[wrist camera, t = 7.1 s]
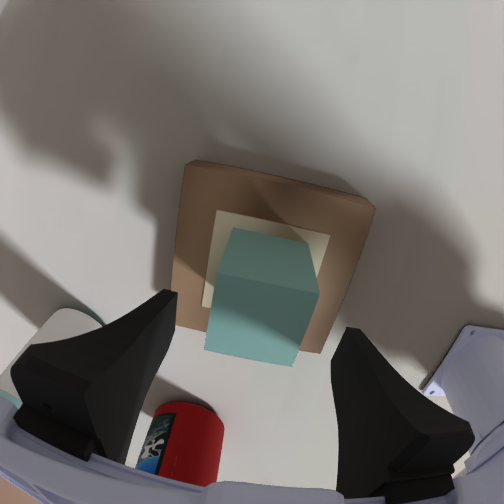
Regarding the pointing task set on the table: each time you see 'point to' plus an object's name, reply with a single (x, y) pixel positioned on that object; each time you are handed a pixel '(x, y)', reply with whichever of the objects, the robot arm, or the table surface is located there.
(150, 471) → the beverage can
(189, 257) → the walnut base
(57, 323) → the can
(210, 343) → the teal block
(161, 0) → the table surface
